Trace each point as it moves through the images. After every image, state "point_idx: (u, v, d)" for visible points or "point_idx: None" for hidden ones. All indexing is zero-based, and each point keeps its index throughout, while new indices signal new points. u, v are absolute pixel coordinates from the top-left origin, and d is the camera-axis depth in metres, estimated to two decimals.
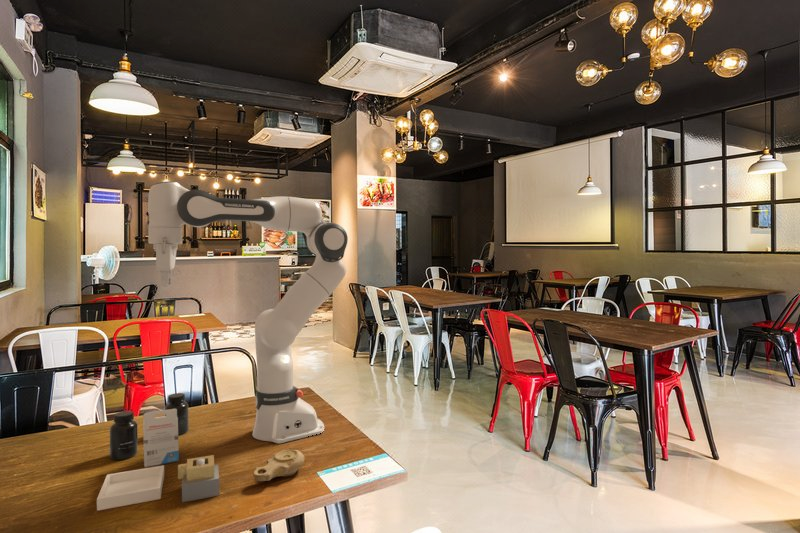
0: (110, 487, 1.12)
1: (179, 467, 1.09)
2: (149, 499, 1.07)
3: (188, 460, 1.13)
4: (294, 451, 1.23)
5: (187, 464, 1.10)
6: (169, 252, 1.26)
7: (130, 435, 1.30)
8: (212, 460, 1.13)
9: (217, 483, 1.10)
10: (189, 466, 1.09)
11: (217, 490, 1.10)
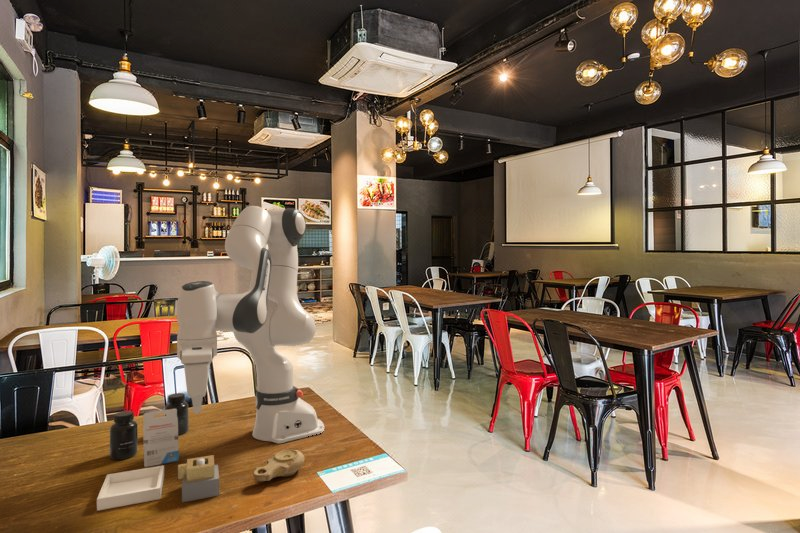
0: (110, 487, 1.12)
1: (179, 467, 1.09)
2: (149, 499, 1.07)
3: (188, 460, 1.13)
4: (294, 451, 1.23)
5: (187, 464, 1.10)
6: None
7: (130, 435, 1.30)
8: (212, 460, 1.13)
9: (217, 483, 1.10)
10: (189, 466, 1.09)
11: (217, 490, 1.10)
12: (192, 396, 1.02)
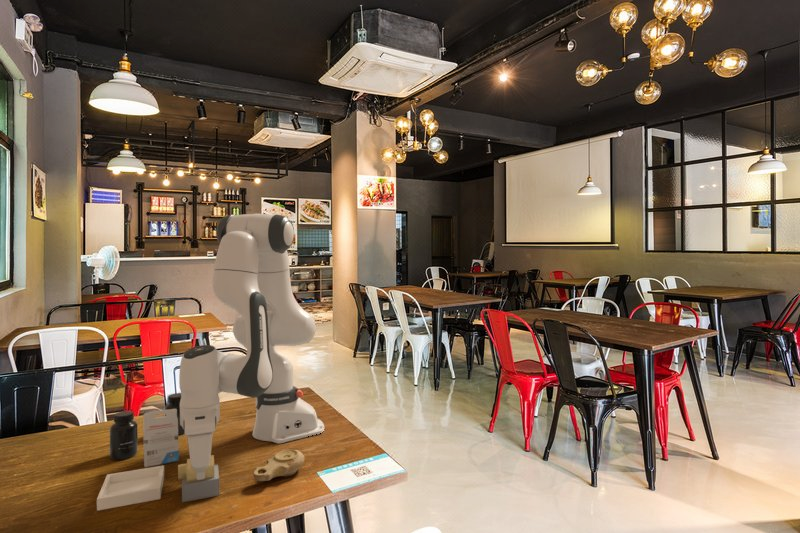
0: (110, 487, 1.12)
1: (179, 467, 1.09)
2: (149, 499, 1.07)
3: (188, 460, 1.13)
4: (294, 451, 1.23)
5: (187, 464, 1.10)
6: None
7: (130, 435, 1.30)
8: (212, 460, 1.13)
9: (217, 483, 1.10)
10: (189, 466, 1.09)
11: (217, 490, 1.10)
12: (196, 468, 1.02)
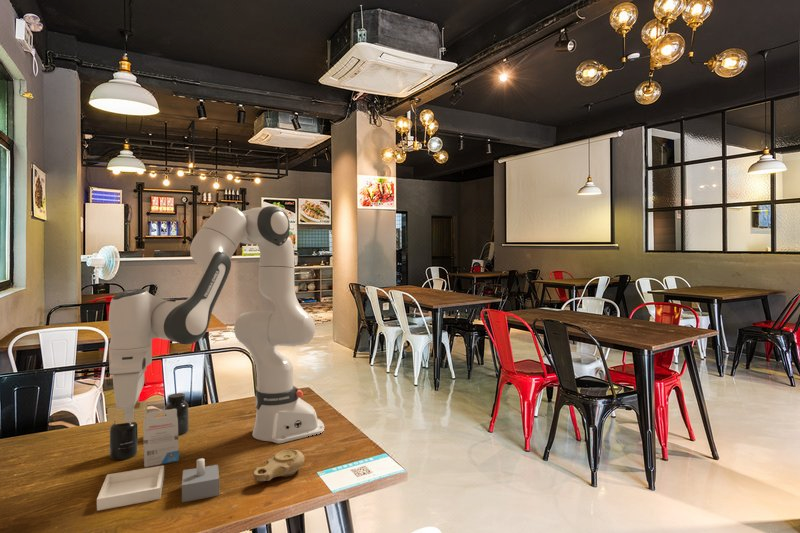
0: (110, 487, 1.12)
1: (109, 410, 1.09)
2: (149, 499, 1.07)
3: None
4: (294, 451, 1.23)
5: None
6: None
7: (130, 435, 1.30)
8: (144, 404, 1.12)
9: (217, 483, 1.10)
10: (118, 409, 1.09)
11: (217, 490, 1.10)
12: (121, 407, 1.02)
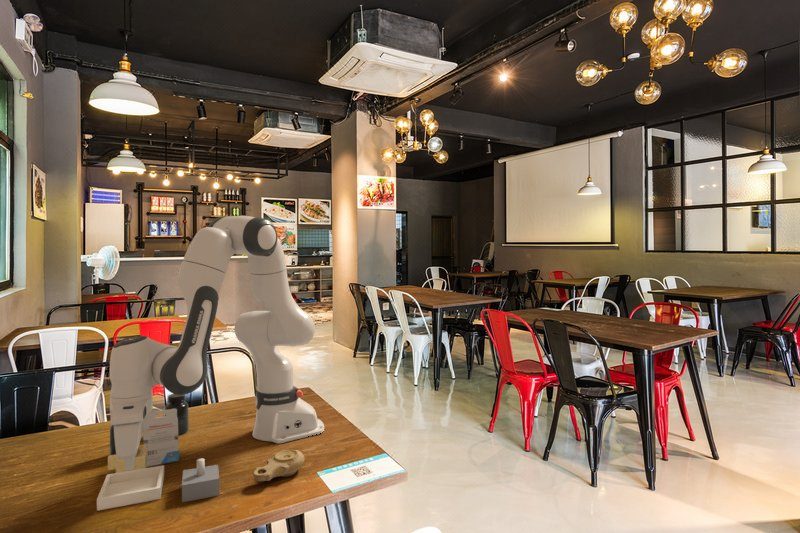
0: (110, 487, 1.12)
1: (109, 458, 1.09)
2: (149, 499, 1.07)
3: None
4: (294, 451, 1.23)
5: None
6: None
7: None
8: (144, 451, 1.12)
9: (217, 483, 1.10)
10: None
11: (217, 490, 1.10)
12: (122, 458, 1.02)
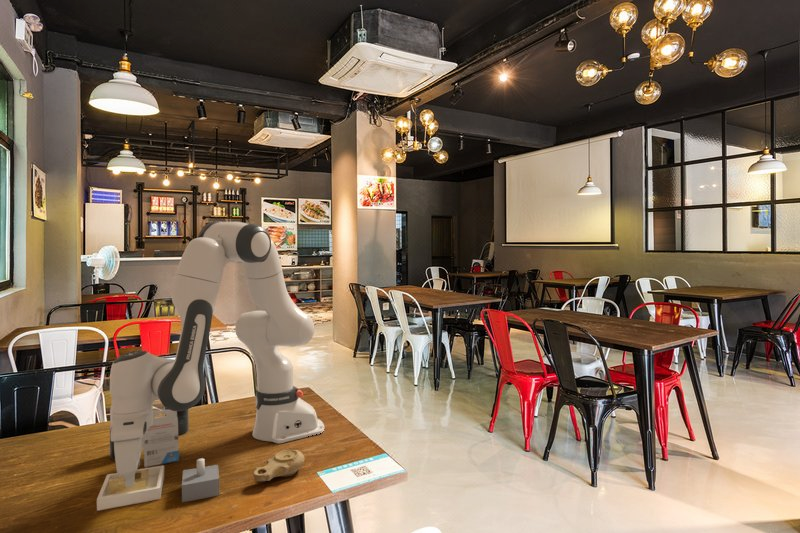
0: None
1: (110, 482, 1.09)
2: (149, 499, 1.07)
3: None
4: (294, 451, 1.23)
5: (119, 479, 1.10)
6: None
7: None
8: (145, 475, 1.12)
9: (217, 483, 1.10)
10: (120, 481, 1.09)
11: (217, 490, 1.10)
12: (122, 474, 1.02)
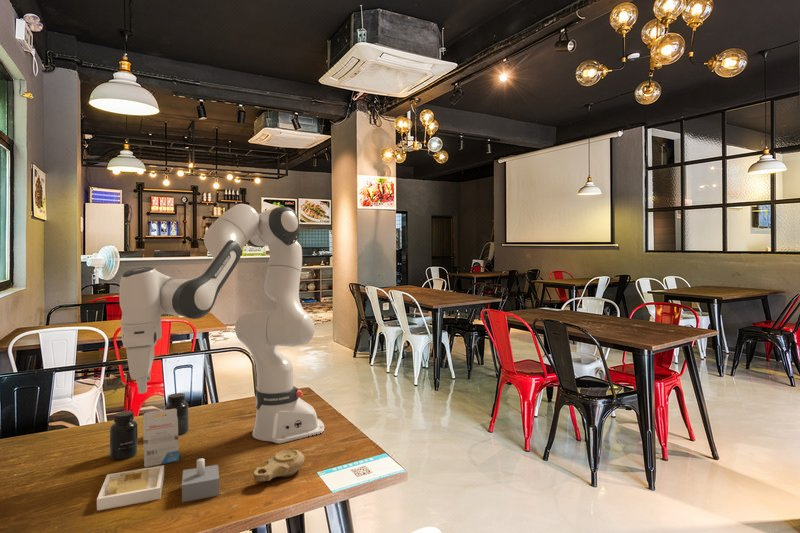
0: None
1: (110, 482, 1.09)
2: (149, 499, 1.07)
3: (121, 475, 1.12)
4: (294, 451, 1.23)
5: (119, 479, 1.10)
6: None
7: (130, 435, 1.30)
8: (145, 475, 1.12)
9: (217, 483, 1.10)
10: (120, 481, 1.09)
11: (217, 490, 1.10)
12: (135, 378, 1.07)
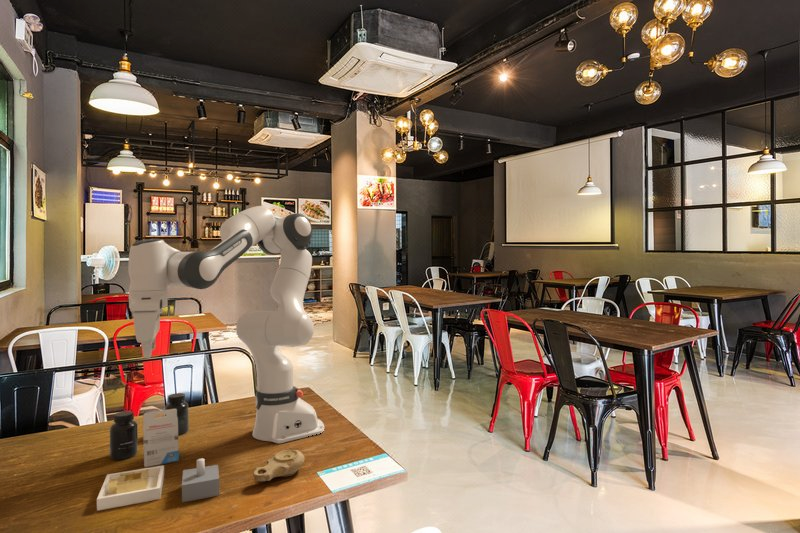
0: None
1: (110, 482, 1.09)
2: (149, 499, 1.07)
3: (121, 475, 1.12)
4: (294, 451, 1.23)
5: (119, 479, 1.10)
6: None
7: (130, 435, 1.30)
8: (145, 475, 1.12)
9: (217, 483, 1.10)
10: (120, 481, 1.09)
11: (217, 490, 1.10)
12: (141, 341, 1.12)
